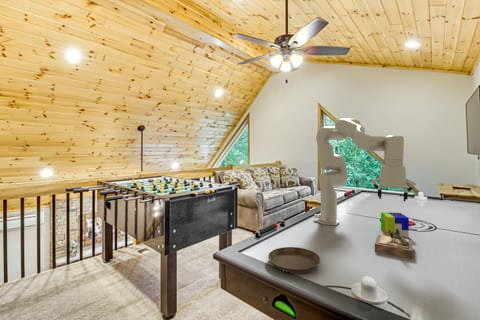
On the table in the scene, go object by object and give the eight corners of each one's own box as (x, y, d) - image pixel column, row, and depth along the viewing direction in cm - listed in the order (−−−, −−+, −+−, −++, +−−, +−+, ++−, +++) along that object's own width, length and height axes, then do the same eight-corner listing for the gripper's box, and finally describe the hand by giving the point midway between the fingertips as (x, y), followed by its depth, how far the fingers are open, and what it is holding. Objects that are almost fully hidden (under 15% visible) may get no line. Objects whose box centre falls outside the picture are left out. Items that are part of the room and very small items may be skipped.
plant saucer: (257, 264, 101) (257, 256, 100) (287, 249, 115) (287, 242, 115) (302, 284, 86) (302, 274, 86) (329, 264, 100) (329, 256, 100)
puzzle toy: (408, 236, 129) (408, 217, 129) (387, 235, 131) (387, 217, 131) (400, 230, 139) (400, 212, 138) (380, 229, 141) (381, 212, 140)
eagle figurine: (380, 237, 114) (396, 240, 105) (386, 223, 116) (402, 225, 107) (393, 245, 115) (410, 249, 106) (399, 231, 116) (416, 234, 108)
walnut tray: (374, 251, 111) (374, 242, 111) (377, 241, 123) (378, 233, 123) (412, 259, 103) (412, 249, 103) (412, 247, 115) (412, 239, 115)
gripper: (371, 162, 115) (370, 198, 116) (416, 164, 105) (415, 203, 106) (373, 161, 121) (372, 196, 122) (416, 162, 111) (414, 200, 112)
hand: (392, 199), depth 114 cm, fingers open, 9 cm apart
